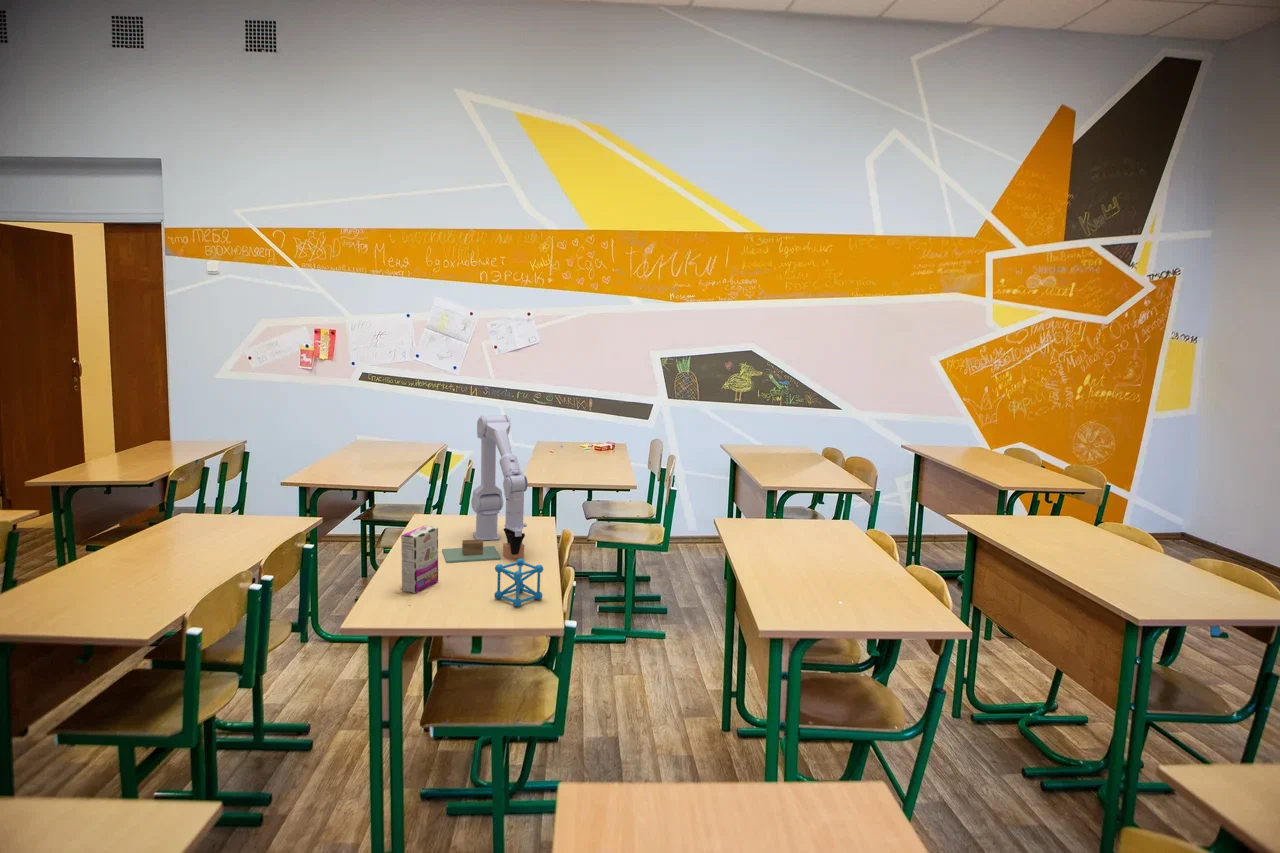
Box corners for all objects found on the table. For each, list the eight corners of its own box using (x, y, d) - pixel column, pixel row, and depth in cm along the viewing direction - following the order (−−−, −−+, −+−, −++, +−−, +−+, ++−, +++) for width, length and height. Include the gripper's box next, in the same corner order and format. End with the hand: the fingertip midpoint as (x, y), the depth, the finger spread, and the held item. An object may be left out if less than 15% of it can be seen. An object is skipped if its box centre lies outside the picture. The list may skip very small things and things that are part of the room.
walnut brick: (462, 551, 248) (462, 540, 247) (480, 550, 250) (481, 539, 249) (463, 555, 244) (464, 543, 244) (482, 554, 246) (483, 542, 246)
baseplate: (442, 550, 250) (442, 549, 250) (494, 547, 256) (494, 545, 256) (446, 563, 238) (446, 561, 238) (501, 559, 244) (501, 557, 244)
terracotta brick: (503, 555, 249) (503, 543, 248) (521, 553, 251) (521, 542, 250) (505, 558, 245) (505, 546, 244) (523, 557, 247) (524, 545, 247)
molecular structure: (519, 590, 217) (520, 556, 216) (544, 599, 211) (545, 564, 210) (492, 599, 210) (493, 564, 208) (516, 609, 204) (517, 572, 202)
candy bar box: (424, 579, 223) (424, 524, 220) (438, 581, 221) (439, 527, 219) (400, 591, 212) (400, 534, 210) (415, 594, 211) (415, 536, 208)
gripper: (531, 516, 240) (530, 558, 242) (522, 505, 254) (521, 544, 256) (509, 517, 238) (508, 559, 240) (501, 506, 251) (500, 546, 253)
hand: (513, 552), depth 248 cm, fingers closed on terracotta brick, 4 cm apart
